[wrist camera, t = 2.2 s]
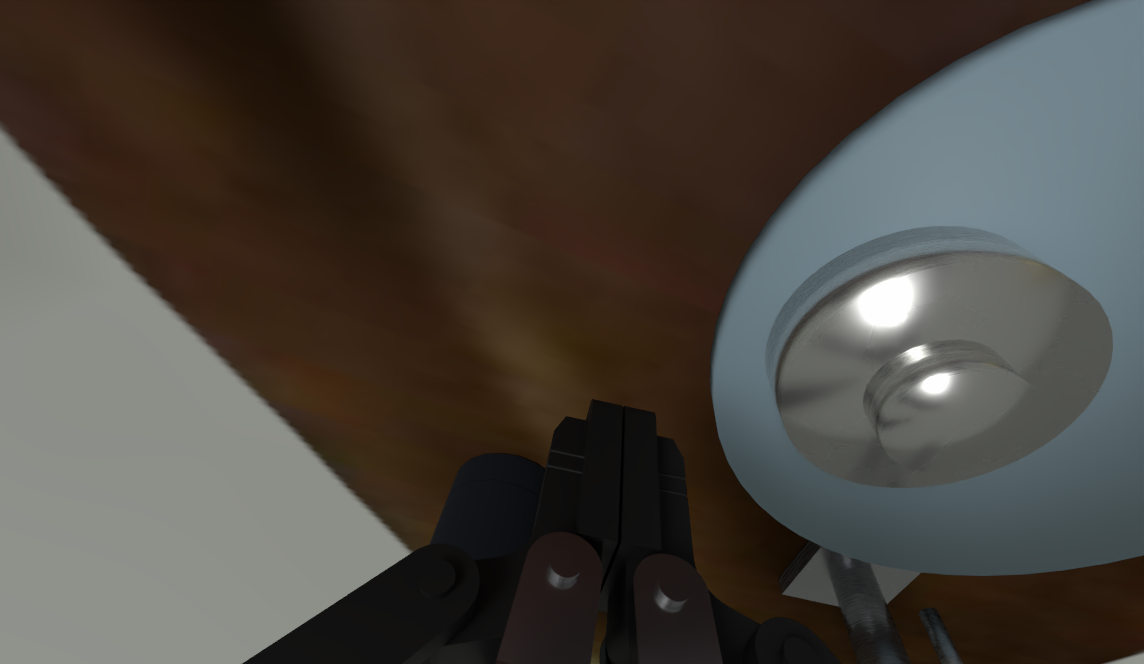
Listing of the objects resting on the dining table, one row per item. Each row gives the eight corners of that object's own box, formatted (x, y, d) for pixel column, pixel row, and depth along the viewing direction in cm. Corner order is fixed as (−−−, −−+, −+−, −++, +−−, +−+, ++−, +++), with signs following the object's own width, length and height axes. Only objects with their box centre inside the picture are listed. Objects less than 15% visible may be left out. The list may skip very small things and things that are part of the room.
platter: (906, -135, 12) (1066, -216, 7) (1853, 83, 12) (2566, 134, 8) (643, 489, 26) (644, 595, 21) (1095, 587, 26) (1193, 713, 21)
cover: (836, 197, 15) (891, 252, 12) (1124, 261, 15) (1259, 334, 12) (729, 410, 20) (746, 491, 17) (944, 457, 20) (1004, 547, 17)
